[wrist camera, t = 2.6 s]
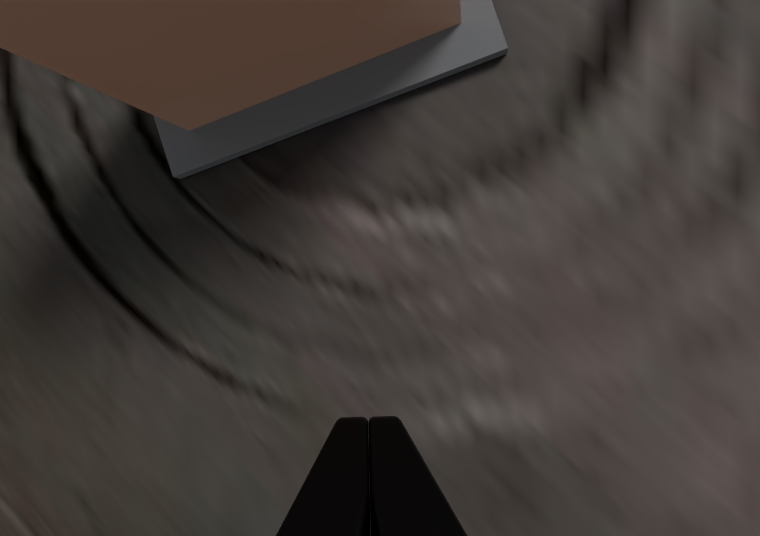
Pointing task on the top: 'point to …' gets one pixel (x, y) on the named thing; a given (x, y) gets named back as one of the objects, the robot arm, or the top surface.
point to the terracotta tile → (211, 46)
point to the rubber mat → (337, 93)
